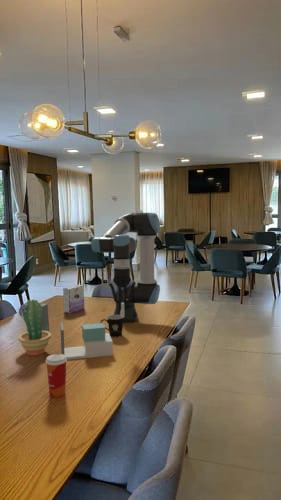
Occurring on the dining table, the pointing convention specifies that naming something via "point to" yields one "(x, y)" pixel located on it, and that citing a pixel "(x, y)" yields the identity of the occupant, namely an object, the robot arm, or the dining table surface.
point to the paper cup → (56, 374)
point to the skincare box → (45, 318)
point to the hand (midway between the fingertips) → (122, 316)
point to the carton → (93, 332)
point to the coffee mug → (114, 325)
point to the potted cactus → (33, 328)
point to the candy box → (73, 298)
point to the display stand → (88, 348)
